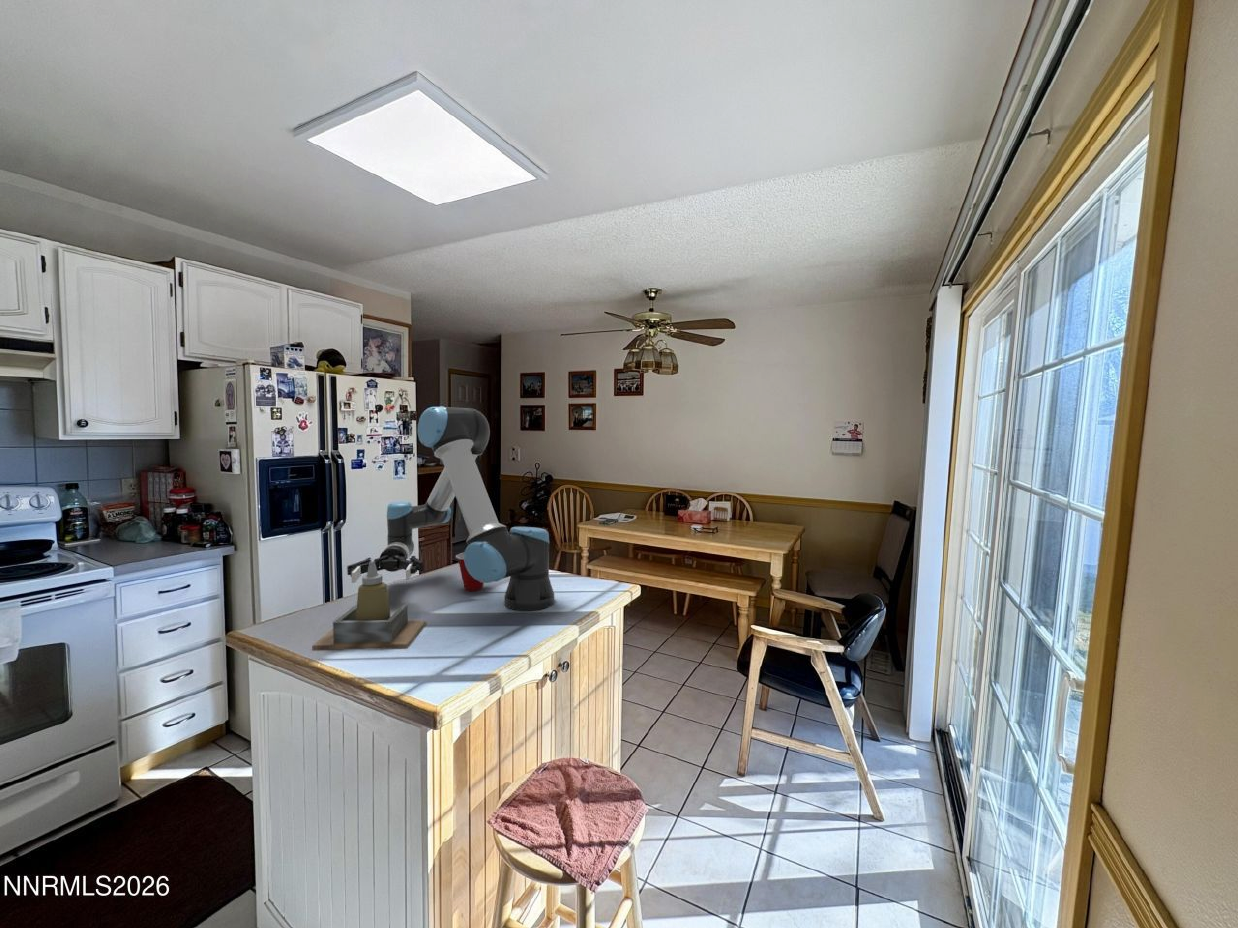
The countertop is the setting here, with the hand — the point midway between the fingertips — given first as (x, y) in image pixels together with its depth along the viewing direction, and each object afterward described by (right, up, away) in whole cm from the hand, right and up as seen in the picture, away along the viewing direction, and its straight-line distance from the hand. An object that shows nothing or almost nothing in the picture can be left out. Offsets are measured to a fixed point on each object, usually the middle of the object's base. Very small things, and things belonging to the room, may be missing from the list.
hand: (380, 576), depth 138 cm
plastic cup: (+16, -11, +30) cm, 36 cm away
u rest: (+2, -13, -9) cm, 16 cm away
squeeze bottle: (+2, -12, -8) cm, 15 cm away
